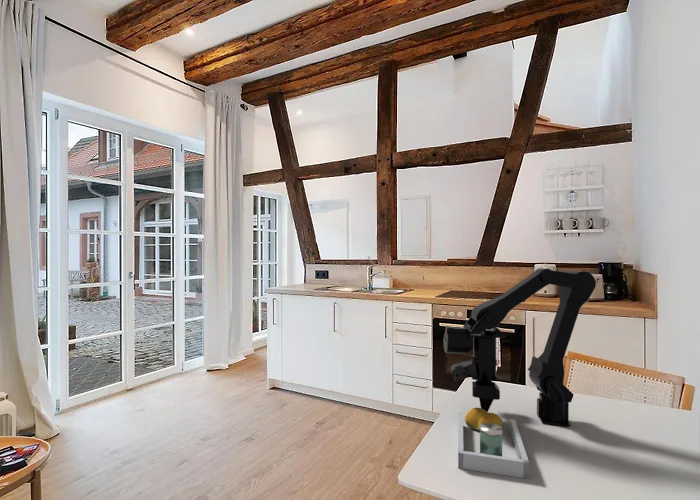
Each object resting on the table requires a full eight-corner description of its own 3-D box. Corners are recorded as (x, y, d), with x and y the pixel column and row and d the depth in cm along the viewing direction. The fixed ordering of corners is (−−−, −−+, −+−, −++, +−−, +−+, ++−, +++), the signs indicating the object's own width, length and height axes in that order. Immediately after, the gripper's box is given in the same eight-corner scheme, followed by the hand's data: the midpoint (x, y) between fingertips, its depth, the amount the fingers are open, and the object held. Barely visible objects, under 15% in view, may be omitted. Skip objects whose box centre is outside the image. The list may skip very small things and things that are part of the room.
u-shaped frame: (514, 431, 92) (514, 419, 92) (529, 478, 73) (529, 462, 73) (458, 424, 95) (458, 412, 95) (458, 467, 76) (458, 452, 76)
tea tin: (503, 465, 77) (504, 434, 77) (480, 461, 79) (480, 431, 79) (501, 453, 82) (501, 424, 82) (478, 450, 83) (479, 421, 83)
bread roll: (493, 438, 89) (493, 421, 89) (459, 425, 95) (459, 409, 95) (510, 427, 94) (510, 411, 94) (476, 416, 101) (476, 401, 101)
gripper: (453, 343, 111) (453, 397, 111) (451, 360, 93) (450, 424, 93) (494, 346, 108) (494, 401, 108) (500, 365, 90) (499, 431, 90)
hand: (484, 413), depth 100 cm, fingers closed
